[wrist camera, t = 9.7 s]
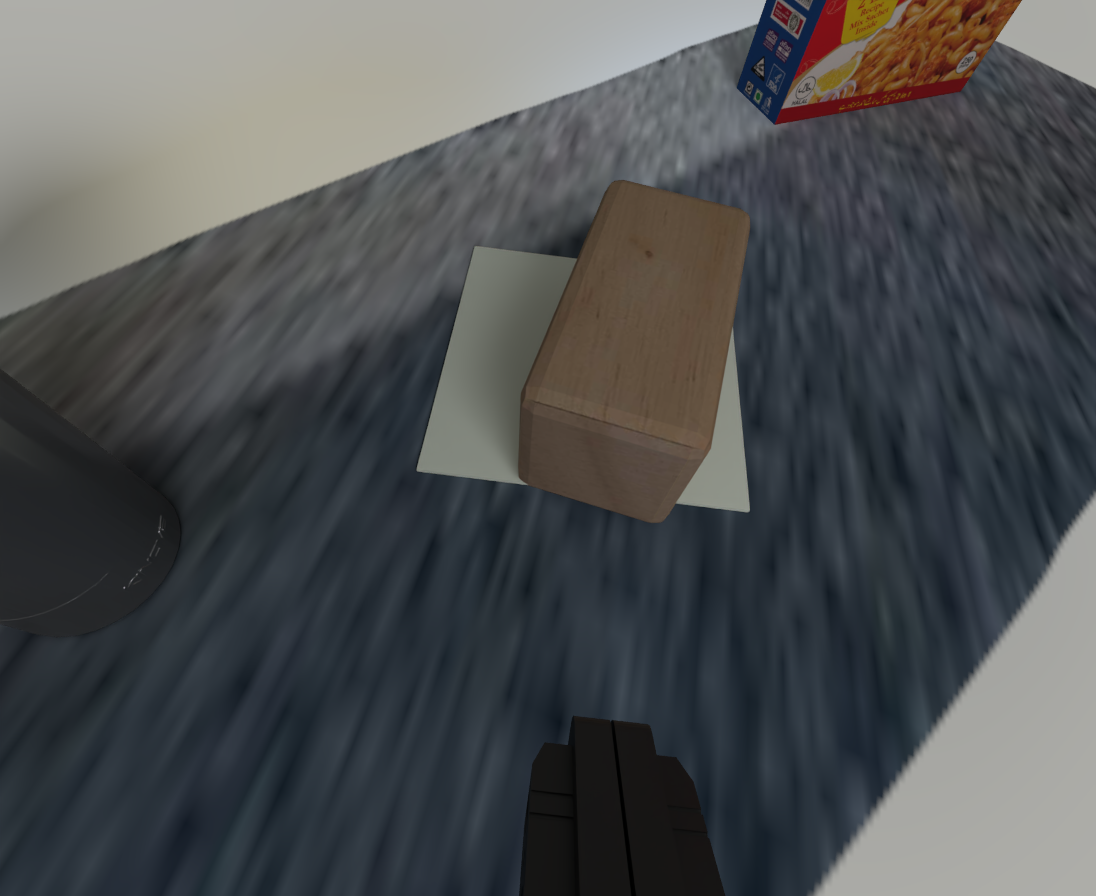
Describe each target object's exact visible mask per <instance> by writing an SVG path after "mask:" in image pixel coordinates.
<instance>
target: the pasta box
mask: <svg viewBox="0 0 1096 896" xmlns="http://www.w3.org/2000/svg"><path fill="white" fill-rule="evenodd" d="M1021 1H1022V0H766V3H765V6H764V9H763V12H762V15H761V18H760V21H759V24H758V26H757V29H756V32H755V35H754V38H753V41H752V44H751V47H750V50H749V53H748V56H747V59H746V62H745V65H744V68H743V71H742V74H741V77H740V79H739V82H738V85H737V89H738V90H739V91H740V92H741V93H742V94H743V95H744V96H745V97H746V98H747V99H749V100H750V101H751V102H752V103H753V104H754V105H755V106H756V107H757V108H758V109H759V110H760V111H761V112H762V113H763V114H764V115H765V116H766V117H767V118H768V119H769V120H770V121H771V122H772V123H773V124H774V125H776V124H781V123H787V122H793V121H798V120H804V119H809V118H815V117H821V116H826V115H832V114H837V113H843V112H849V111H854V110H860V109H865V108H871V107H876V106H882V105H888V104H893V103H899V102H904V101H910V100H916V99H921V98H927V97H932V96H938V95H944V94H949V93H955V92H960V91H961V90H962V88H963V87H964V85H965V84H966V83H967V81H968V80H969V78H970V77H971V75H972V74H973V72H974V71H975V69H976V68H977V66H978V65H979V63H980V62H981V60H982V59H983V57H984V56H985V54H986V53H987V51H988V50H989V48H990V47H991V45H992V44H993V42H994V41H995V40H996V38H997V37H998V35H999V34H1000V32H1001V31H1002V29H1003V28H1004V26H1005V25H1006V23H1007V21H1008V20H1009V19H1010V17H1011V16H1012V14H1013V13H1014V11H1015V10H1016V8H1017V7H1018V5H1019V4H1020V2H1021Z"/></svg>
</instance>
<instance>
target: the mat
mask: <svg viewBox="0 0 1096 896" xmlns="http://www.w3.org/2000/svg"><path fill="white" fill-rule="evenodd" d="M576 260H577V259H575V258H567V257H559V256H551V255H543V254H535V253H527V252H519V251H511V250H503V249H495V248H487V247H479V246H475V247H474V251H473V255H472V259H471V263H470V267H469V270H468V274H467V278H466V282H465V286H464V289H463V293H462V297H461V301H460V305H459V309H458V312H457V316H456V320H455V324H454V328H453V332H452V335H451V339H450V343H449V347H448V351H447V355H446V358H445V362H444V366H443V370H442V374H441V378H440V381H439V385H438V389H437V393H436V397H435V400H434V404H433V408H432V412H431V416H430V420H429V423H428V427H427V431H426V435H425V439H424V443H423V446H422V450H421V454H420V458H419V462H418V466H417V471H418V472H426V473H434V474H442V475H451V476H459V477H467V478H475V479H483V480H491V481H499V482H507V483H515V484H523V485H527V484H526V483H524V482H523V481H521V479H520V478H519V473H518V454H519V426H520V398H521V391H522V389H523V387H524V384H525V382H526V379H527V377H528V375H529V372H530V370H531V367H532V365H533V363H534V360H535V358H536V356H537V353H538V351H539V348H540V346H541V344H542V341H543V339H544V337H545V334H546V332H547V329H548V327H549V325H550V322H551V320H552V317H553V315H554V313H555V310H556V308H557V306H558V303H559V301H560V298H561V296H562V294H563V291H564V289H565V287H566V284H567V282H568V279H569V277H570V275H571V272H572V270H573V267H574V265H575V263H576ZM676 503H677V504H685V505H693V506H701V507H709V508H717V509H725V510H734V511H742V512H749V511H750V507H749V496H748V486H747V475H746V464H745V454H744V443H743V432H742V422H741V411H740V400H739V390H738V379H737V369H736V358H735V347H734V337H733V327H732V333H731V338H730V344H729V350H728V355H727V361H726V366H725V372H724V378H723V383H722V389H721V395H720V400H719V406H718V412H717V417H716V423H715V428H714V434H713V440H712V445H711V449H710V451H709V453H708V454H707V456H706V457H705V459H704V460H703V462H702V463H701V465H700V466H699V468H698V470H697V471H696V473H695V474H694V476H693V477H692V479H691V480H690V482H689V484H688V485H687V487H686V488H685V490H684V491H683V493H682V494H681V496H680V497H679V499H678V501H677V502H676Z"/></svg>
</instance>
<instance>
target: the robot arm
mask: <svg viewBox="0 0 1096 896" xmlns="http://www.w3.org/2000/svg"><path fill="white" fill-rule="evenodd" d="M180 534H181V532H180V524H179V518H178V516H177V514H176V512H175V509H174V507H173V506H172V505H171V504H170V502H169V501H168V500H167V499H166V498H165V497H164V496H163V495H161V494H160V493H159V492H158V491H156V490H155V489H154V488H152V487H151V486H150V485H149V484H147V483H146V482H145V481H143V480H142V479H141V478H140V477H138V476H137V475H136V474H134V473H133V472H132V471H131V470H129V469H128V468H127V467H126V466H125V465H123V464H122V463H121V462H120V461H118V460H117V459H116V458H114V457H113V456H112V455H111V454H109V453H108V452H107V451H105V450H104V449H103V448H102V447H100V446H99V445H98V444H96V443H95V442H94V441H93V440H91V439H90V438H89V437H87V436H86V435H85V434H84V433H82V432H81V431H80V430H78V429H77V428H76V427H75V426H73V425H72V424H71V423H69V422H68V421H67V420H66V419H64V418H63V417H62V416H60V415H59V414H58V413H57V412H55V411H54V410H53V409H51V408H50V407H49V406H48V405H46V404H45V403H44V402H42V401H41V400H40V399H39V398H37V397H36V396H35V395H33V394H32V393H31V392H30V391H28V390H27V389H26V388H24V387H23V386H22V385H21V384H19V383H18V382H17V381H15V380H14V379H13V378H12V377H10V376H9V375H8V374H7V373H5V372H4V371H3V370H1V369H0V624H1V625H5V626H8V627H12V628H15V629H19V630H23V631H26V632H30V633H34V634H37V635H43V636H51V637H67V636H77V635H81V634H85V633H88V632H92V631H96V630H98V629H101V628H103V627H105V626H107V625H110V624H112V623H114V622H116V621H118V620H119V619H121V618H122V617H124V616H126V615H127V614H129V613H130V612H132V611H133V610H135V609H136V608H137V607H138V606H139V605H141V604H142V603H143V602H144V601H145V600H146V599H147V598H149V597H150V596H151V595H152V593H153V592H154V591H155V590H156V589H157V587H158V586H159V585H160V584H161V583H162V582H163V580H164V579H165V577H166V575H167V574H168V572H169V570H170V569H171V567H172V565H173V563H174V560H175V557H176V554H177V552H178V549H179V542H180ZM519 896H725V893H724V890H723V886H722V882H721V879H720V875H719V872H718V868H717V865H716V861H715V857H714V854H713V850H712V847H711V843H710V839H709V838H708V837H707V829H706V825H705V822H704V818H703V815H701V807H700V804H699V800H698V796H697V793H696V789H695V786H694V782H693V781H692V779H691V778H690V776H689V775H688V773H687V772H686V771H685V769H684V768H683V766H682V765H681V764H680V762H679V761H678V759H677V758H676V757H668V756H659V755H657V754H656V750H655V745H654V740H653V736H652V731H651V728H650V726H649V725H648V724H640V723H632V722H623V721H615V720H612V721H611V722H610V720H604V719H596V718H587V717H578V716H573V717H572V722H571V728H570V734H569V741H568V745H562V744H554V743H544V745H543V746H542V748H541V750H540V752H539V753H538V755H537V757H536V758H535V760H534V762H533V764H532V771H531V779H530V787H529V794H528V802H527V809H526V817H525V825H524V837H523V850H522V864H521V877H520V891H519Z"/></svg>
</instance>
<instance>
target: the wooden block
mask: <svg viewBox="0 0 1096 896" xmlns="http://www.w3.org/2000/svg"><path fill="white" fill-rule="evenodd" d="M749 231H750V217H749V215H748V214H747V213H746V212H744V211H743V210H741V209H739V208H735V207H731V206H727V205H723V204H719V203H715V202H711V201H707V200H702V199H698V198H694V197H690V196H686V195H682V194H678V193H674V192H670V191H666V190H662V189H658V188H654V187H650V186H646V185H642V184H638V183H634V182H630V181H626V180H618V181H614V182H612V183H611V184H610V186H609V187H608V189H607V190H606V192H605V194H604V196H603V198H602V201H601V203H600V206H599V208H598V210H597V213H596V215H595V217H594V220H593V222H592V225H591V227H590V229H589V232H588V234H587V237H586V239H585V241H584V244H583V246H582V248H581V251H580V253H579V256H578V258H577V260H576V263H575V265H574V267H573V270H572V272H571V275H570V277H569V279H568V282H567V284H566V287H565V289H564V291H563V294H562V296H561V298H560V301H559V303H558V306H557V308H556V310H555V313H554V315H553V317H552V320H551V322H550V325H549V327H548V329H547V332H546V334H545V337H544V339H543V341H542V344H541V346H540V348H539V351H538V353H537V356H536V358H535V360H534V363H533V365H532V367H531V370H530V372H529V375H528V377H527V379H526V382H525V384H524V387H523V389H522V391H521V398H520V426H519V454H518V473H519V478H520V479H521V481H523V482H524V483H526V484H527V485H529V486H532V487H535V488H539V489H542V490H545V491H548V492H552V493H555V494H558V495H561V496H564V497H568V498H571V499H574V500H577V501H581V502H584V503H587V504H590V505H594V506H597V507H600V508H603V509H607V510H610V511H613V512H616V513H620V514H623V515H626V516H629V517H632V518H636V519H639V520H642V521H645V522H649V523H660V522H663V521H664V519H665V518H666V517H667V516H668V514H669V513H670V511H671V510H672V508H673V507H674V505H675V504H676V502H677V501H678V499H679V497H680V496H681V494H682V493H683V491H684V490H685V488H686V487H687V485H688V484H689V482H690V480H691V479H692V477H693V476H694V474H695V473H696V471H697V470H698V468H699V466H700V465H701V463H702V462H703V460H704V459H705V457H706V456H707V454H708V453H709V451H710V449H711V445H712V440H713V434H714V428H715V423H716V417H717V412H718V406H719V400H720V395H721V389H722V383H723V378H724V372H725V366H726V361H727V355H728V350H729V344H730V338H731V333H732V327H733V321H734V316H735V310H736V304H737V299H738V293H739V287H740V282H741V276H742V271H743V265H744V259H745V254H746V248H747V242H748V237H749Z"/></svg>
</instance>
